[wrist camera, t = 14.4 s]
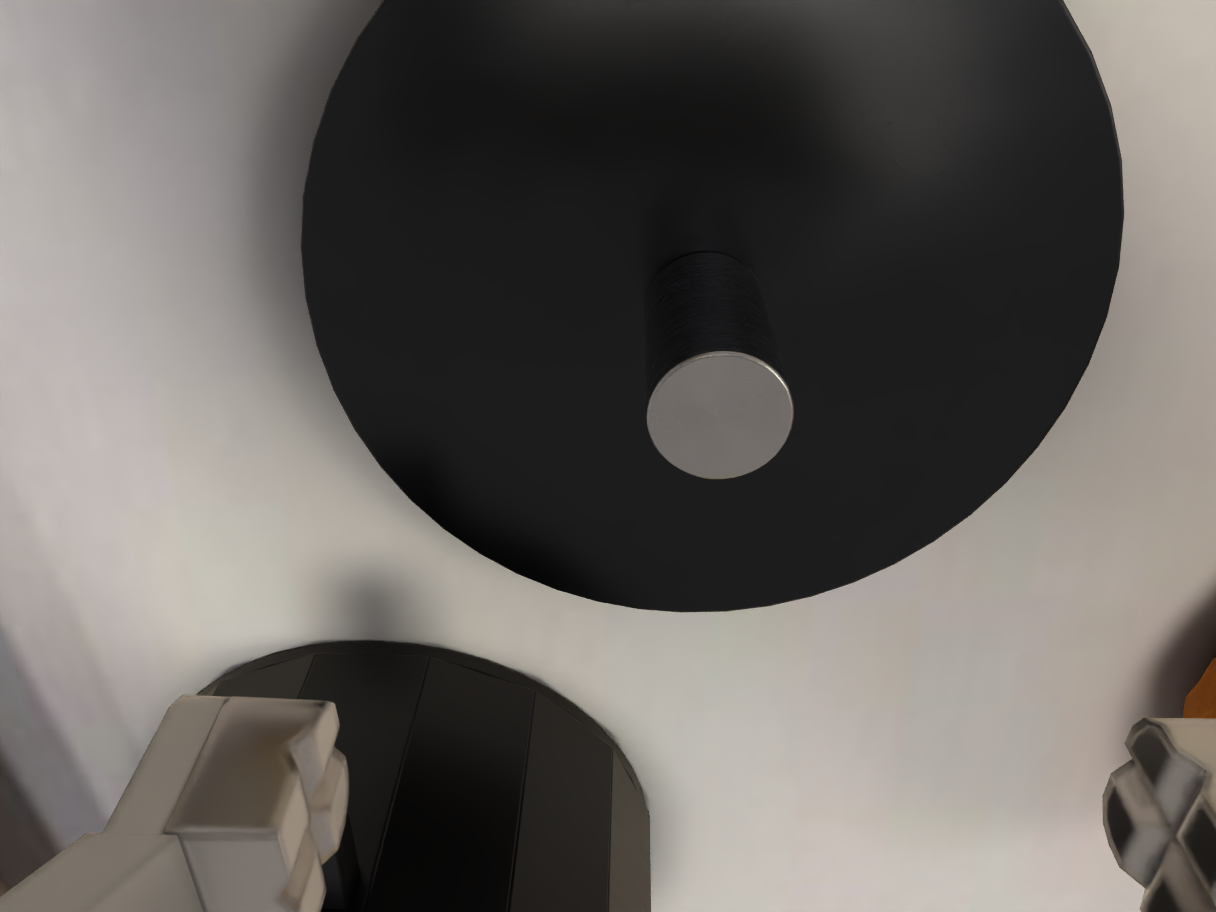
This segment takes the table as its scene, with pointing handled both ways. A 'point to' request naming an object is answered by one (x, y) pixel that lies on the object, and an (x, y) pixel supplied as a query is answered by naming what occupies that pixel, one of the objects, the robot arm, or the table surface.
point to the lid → (709, 276)
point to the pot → (465, 785)
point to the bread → (1203, 696)
